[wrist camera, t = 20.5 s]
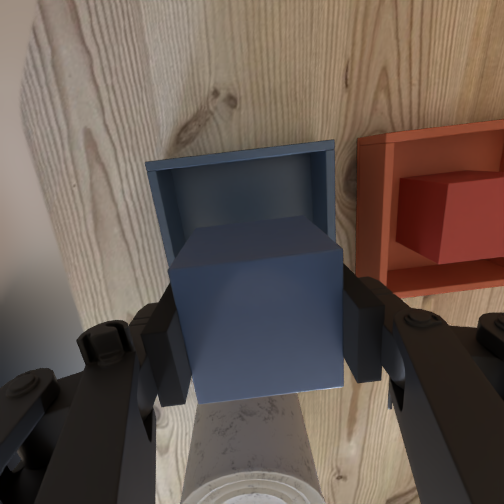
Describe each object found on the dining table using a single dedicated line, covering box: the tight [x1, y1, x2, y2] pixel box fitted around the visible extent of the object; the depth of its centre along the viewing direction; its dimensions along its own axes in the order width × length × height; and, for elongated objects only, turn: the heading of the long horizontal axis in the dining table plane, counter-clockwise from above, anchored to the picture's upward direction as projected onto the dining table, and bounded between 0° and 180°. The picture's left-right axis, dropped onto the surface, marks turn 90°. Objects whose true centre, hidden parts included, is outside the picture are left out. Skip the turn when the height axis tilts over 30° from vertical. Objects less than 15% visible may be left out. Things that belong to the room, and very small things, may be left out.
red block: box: [396, 170, 504, 264], centre depth 21 cm, size 6×6×6 cm
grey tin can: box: [180, 393, 326, 504], centre depth 23 cm, size 10×10×12 cm
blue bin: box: [145, 139, 336, 267], centre depth 21 cm, size 12×12×4 cm
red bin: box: [356, 119, 504, 298], centre depth 21 cm, size 12×12×4 cm
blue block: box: [168, 215, 344, 404], centre depth 12 cm, size 6×6×6 cm
